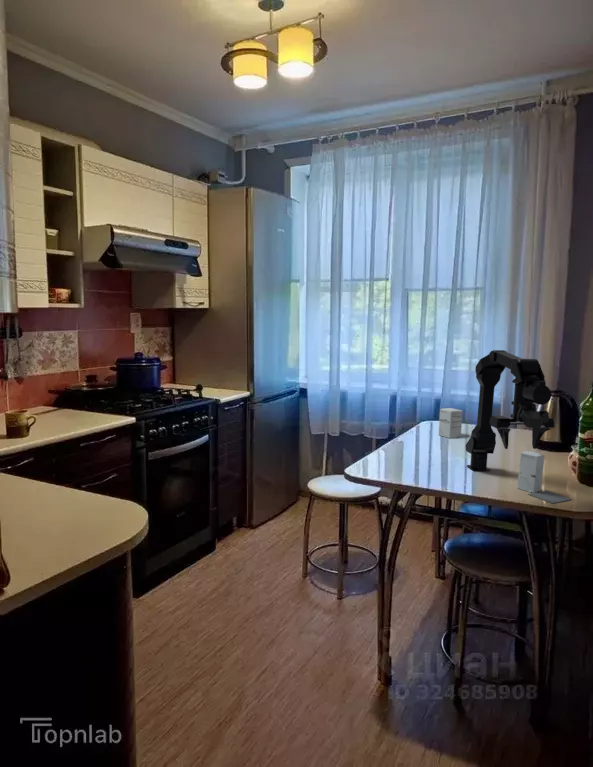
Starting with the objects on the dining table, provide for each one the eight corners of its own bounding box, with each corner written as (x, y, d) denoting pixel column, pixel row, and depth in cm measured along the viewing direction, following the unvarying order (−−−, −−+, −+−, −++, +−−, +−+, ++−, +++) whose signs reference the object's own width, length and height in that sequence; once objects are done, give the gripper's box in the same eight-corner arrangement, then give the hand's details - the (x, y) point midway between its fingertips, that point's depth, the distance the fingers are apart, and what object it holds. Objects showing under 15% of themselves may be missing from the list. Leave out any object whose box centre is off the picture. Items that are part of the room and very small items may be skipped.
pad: (528, 494, 176) (528, 493, 176) (546, 491, 180) (547, 490, 180) (552, 503, 168) (552, 502, 168) (571, 500, 172) (571, 499, 172)
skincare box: (516, 488, 182) (519, 452, 181) (524, 486, 185) (527, 450, 183) (534, 493, 177) (537, 456, 176) (542, 491, 180) (544, 454, 178)
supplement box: (438, 435, 259) (439, 408, 257) (450, 434, 262) (451, 407, 261) (449, 438, 253) (450, 411, 251) (461, 437, 256) (463, 410, 254)
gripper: (507, 403, 163) (503, 455, 165) (567, 403, 165) (563, 455, 167) (490, 397, 174) (487, 446, 176) (546, 397, 176) (543, 446, 178)
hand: (520, 448), depth 174 cm, fingers open, 9 cm apart
